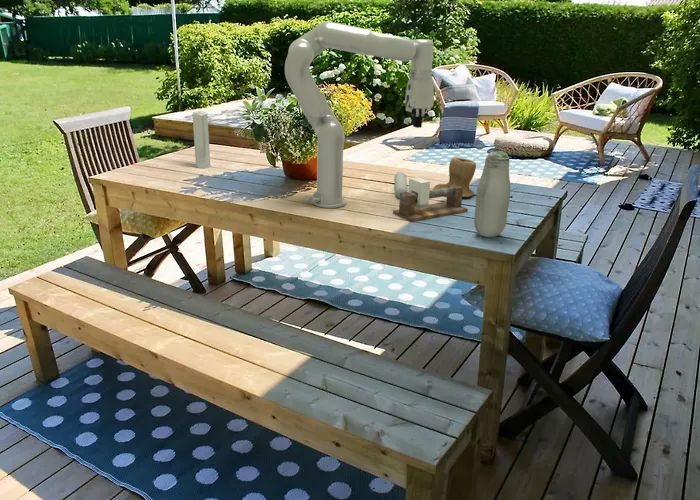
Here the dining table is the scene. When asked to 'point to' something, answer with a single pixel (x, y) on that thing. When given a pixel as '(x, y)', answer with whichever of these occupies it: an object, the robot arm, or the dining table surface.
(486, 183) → the glass bottle
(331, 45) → the robot arm
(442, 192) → the pipe stand
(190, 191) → the dining table surface
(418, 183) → the cream upright slab
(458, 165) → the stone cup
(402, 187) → the tube
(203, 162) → the grey upright post
